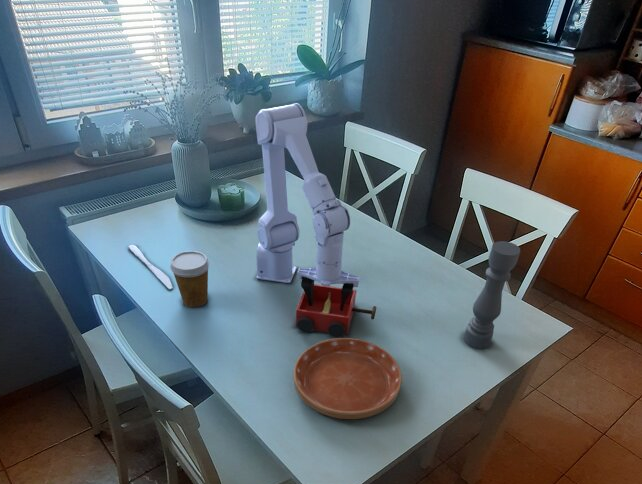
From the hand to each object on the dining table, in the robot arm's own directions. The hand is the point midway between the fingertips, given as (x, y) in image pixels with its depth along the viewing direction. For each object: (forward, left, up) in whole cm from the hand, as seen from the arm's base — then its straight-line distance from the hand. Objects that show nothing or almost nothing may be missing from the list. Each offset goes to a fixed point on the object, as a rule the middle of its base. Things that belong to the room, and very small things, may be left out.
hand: (326, 305), depth 126 cm
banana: (0, 0, -3) cm, 3 cm away
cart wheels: (+3, 0, -3) cm, 5 cm away
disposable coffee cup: (-34, -1, -4) cm, 34 cm away
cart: (0, 0, -3) cm, 3 cm away
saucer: (+9, -22, -4) cm, 24 cm away
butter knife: (-52, +11, -3) cm, 53 cm away
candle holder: (+37, 0, -4) cm, 37 cm away
